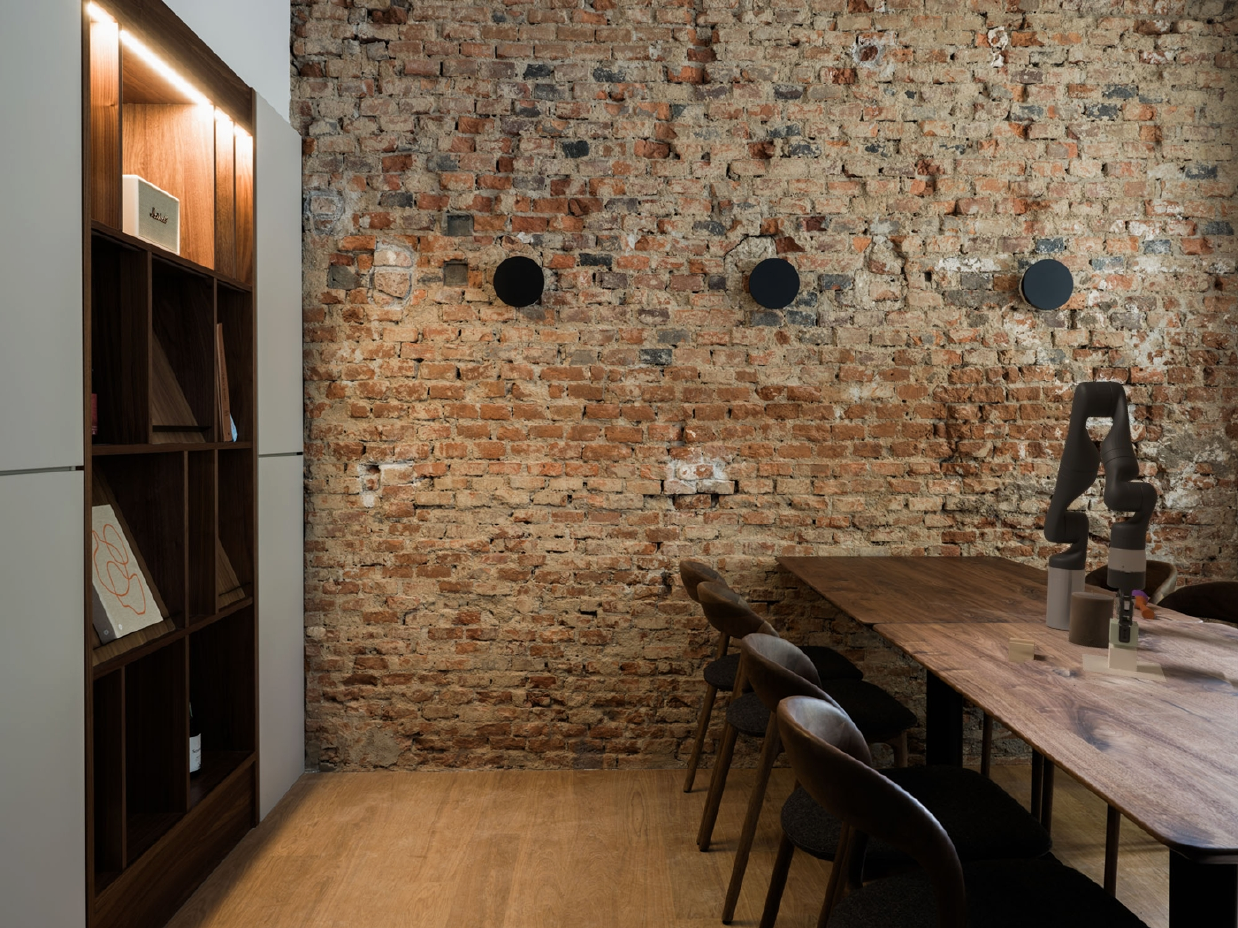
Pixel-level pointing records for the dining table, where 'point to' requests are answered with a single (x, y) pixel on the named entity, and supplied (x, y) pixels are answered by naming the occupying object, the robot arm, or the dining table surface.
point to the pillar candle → (1090, 619)
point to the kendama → (1143, 604)
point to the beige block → (1122, 657)
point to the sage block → (1115, 633)
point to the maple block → (1021, 650)
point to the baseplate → (1143, 670)
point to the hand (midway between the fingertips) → (1123, 639)
